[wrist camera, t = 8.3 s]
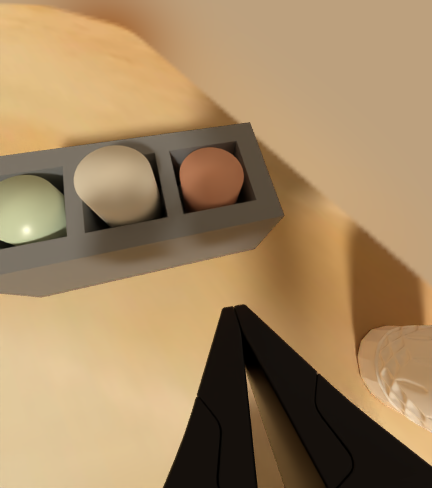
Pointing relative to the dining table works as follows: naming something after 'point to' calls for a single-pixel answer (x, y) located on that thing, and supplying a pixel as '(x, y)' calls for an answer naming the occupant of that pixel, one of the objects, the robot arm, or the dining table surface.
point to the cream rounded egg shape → (119, 186)
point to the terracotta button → (210, 179)
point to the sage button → (31, 210)
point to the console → (144, 233)
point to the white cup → (400, 369)
